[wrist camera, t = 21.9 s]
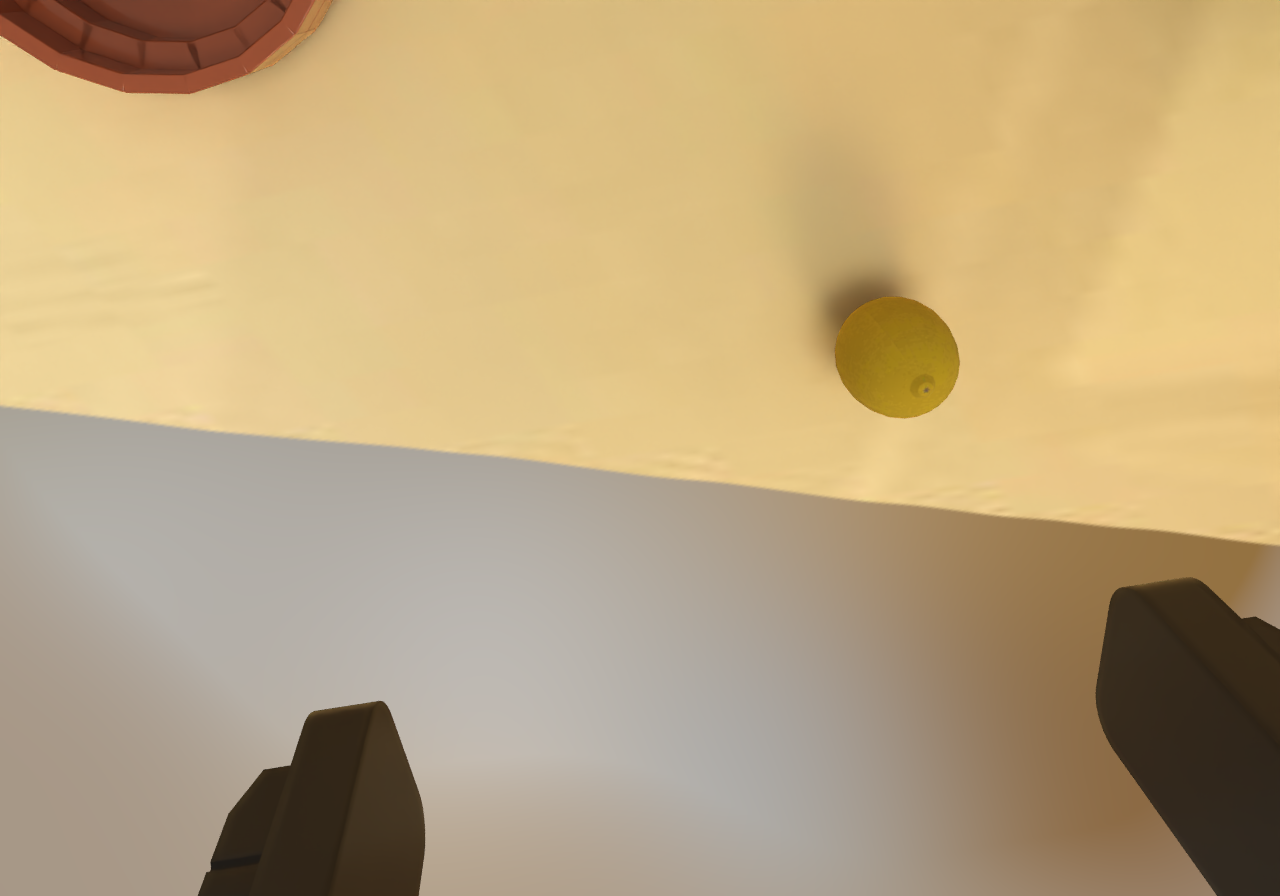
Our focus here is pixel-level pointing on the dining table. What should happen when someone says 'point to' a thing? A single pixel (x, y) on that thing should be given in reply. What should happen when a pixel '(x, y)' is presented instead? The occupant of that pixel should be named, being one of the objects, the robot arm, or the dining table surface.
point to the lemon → (897, 357)
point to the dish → (159, 38)
